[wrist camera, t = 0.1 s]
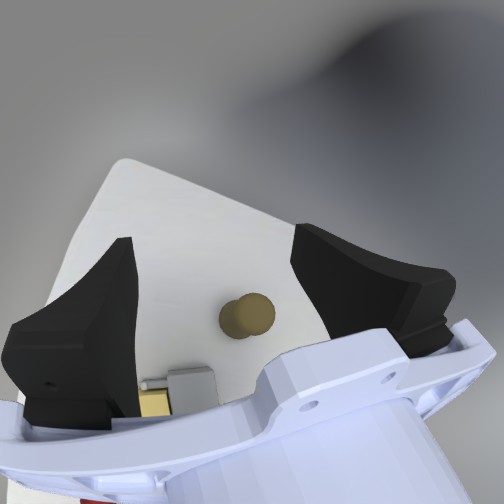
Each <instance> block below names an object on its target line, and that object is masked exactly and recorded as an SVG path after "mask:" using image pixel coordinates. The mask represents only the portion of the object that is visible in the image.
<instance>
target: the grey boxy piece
mask: <svg viewBox="0 0 504 504" xmlns="http://www.w3.org/2000/svg"><path fill="white" fill-rule="evenodd" d="M167 387H169V389H168V393H169V398H170V404H171V409H172V414H173V415H174V414H184V413H192V412H200V411H204V410H207V409H210V408H213V407H216V406H219V402H218V396H217V390H216V384H215V378H214V372H213V370H212V369H211V368H210V367H202V368H193V369H183V370H173V371H168V374H167V378H165V379H152V380H143V381H142V382H141V389H142V390H147V389H154V388H167Z"/></svg>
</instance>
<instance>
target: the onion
mask: <svg viewBox="0 0 504 504" xmlns="http://www.w3.org/2000/svg"><path fill="white" fill-rule="evenodd" d="M80 503H81V504H116V503H113V502H103V501H95V500H88V499H80Z"/></svg>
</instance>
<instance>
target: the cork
mask: <svg viewBox="0 0 504 504" xmlns="http://www.w3.org/2000/svg"><path fill="white" fill-rule="evenodd" d="M274 320H275V309H274V306H273V304H272V302H271V301H270V300H269V299H268V298H267V297H266V296H264V295H262V294H258V293H249V294H246V295H244V296H242V297H241V298H239V300H234V301H231V302H229V303H227V304H226V305H225V306H224V307H223V308H222V310H221V312H220V315H219V323H220V327H221V328H222V330H223V332H224V333H225V334H226V335H227V336H229V337H231V338H234V339H244V338H247V337H249V336H250V335H253V336H256V335H261V334H263V333H265V332H267V331H268V330H269V329H270V328H271V326H272V325H273V323H274Z"/></svg>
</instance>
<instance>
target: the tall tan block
mask: <svg viewBox="0 0 504 504" xmlns="http://www.w3.org/2000/svg"><path fill="white" fill-rule="evenodd" d="M138 393H139V401H140V408H141V414H142V417H152V416H164V415H172V409H171V404H170V398H169V393H168V387H167V388H154V389H147V390H142V389H138Z"/></svg>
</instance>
